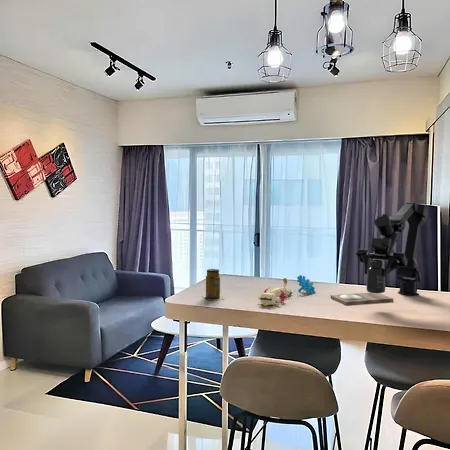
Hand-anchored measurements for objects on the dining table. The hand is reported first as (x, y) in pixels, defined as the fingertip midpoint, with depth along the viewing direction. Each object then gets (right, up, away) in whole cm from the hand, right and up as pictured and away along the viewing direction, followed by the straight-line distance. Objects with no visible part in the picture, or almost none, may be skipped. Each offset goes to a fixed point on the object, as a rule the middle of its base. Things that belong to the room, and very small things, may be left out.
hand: (374, 274), depth 166 cm
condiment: (-62, -12, +19) cm, 66 cm away
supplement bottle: (+1, -7, +1) cm, 7 cm away
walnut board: (0, -12, +16) cm, 20 cm away
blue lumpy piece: (-20, -12, +30) cm, 38 cm away
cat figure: (-36, -13, +15) cm, 41 cm away
